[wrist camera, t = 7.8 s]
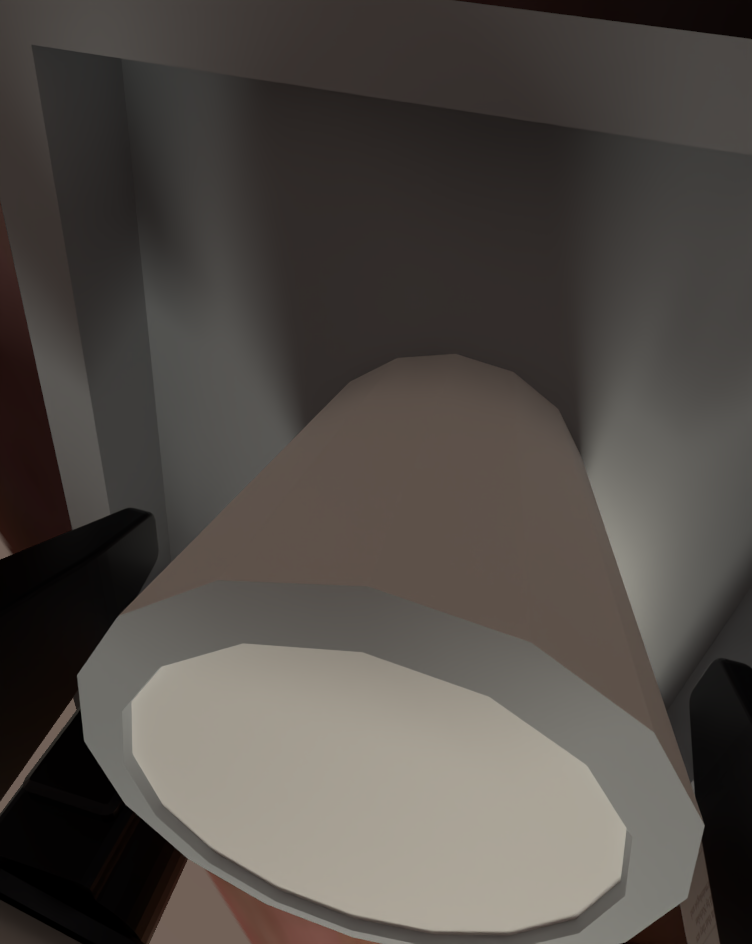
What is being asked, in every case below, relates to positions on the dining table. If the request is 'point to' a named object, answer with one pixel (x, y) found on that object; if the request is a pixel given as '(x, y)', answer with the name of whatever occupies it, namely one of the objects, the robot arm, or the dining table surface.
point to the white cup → (407, 682)
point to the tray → (393, 256)
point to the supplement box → (699, 907)
